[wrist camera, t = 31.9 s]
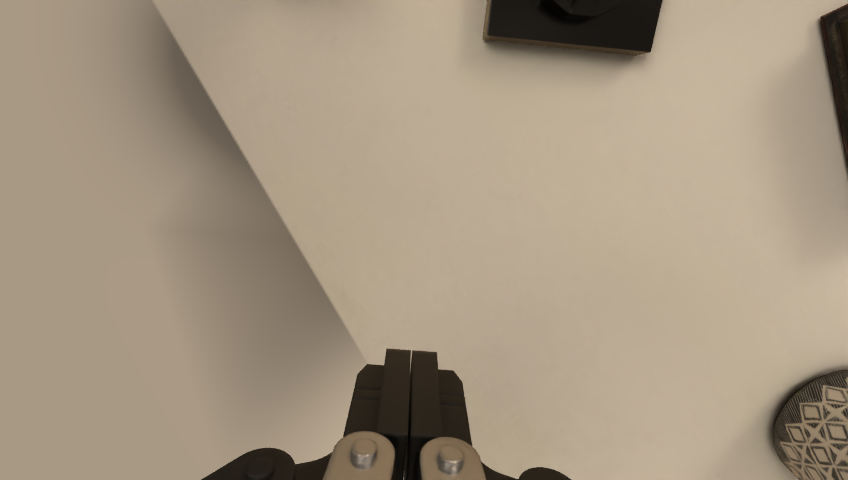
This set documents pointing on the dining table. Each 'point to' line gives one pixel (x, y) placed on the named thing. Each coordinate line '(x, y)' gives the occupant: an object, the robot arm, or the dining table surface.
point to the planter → (816, 430)
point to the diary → (838, 60)
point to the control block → (575, 24)
